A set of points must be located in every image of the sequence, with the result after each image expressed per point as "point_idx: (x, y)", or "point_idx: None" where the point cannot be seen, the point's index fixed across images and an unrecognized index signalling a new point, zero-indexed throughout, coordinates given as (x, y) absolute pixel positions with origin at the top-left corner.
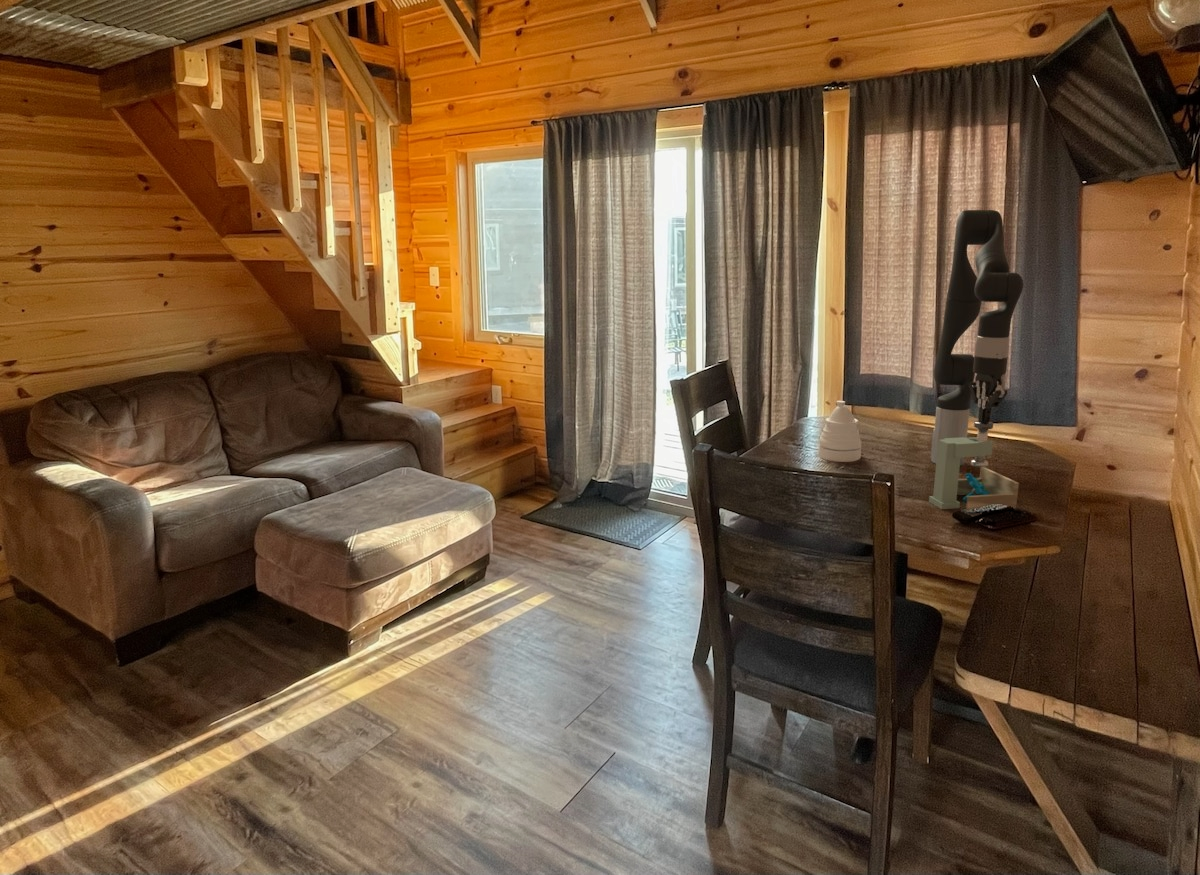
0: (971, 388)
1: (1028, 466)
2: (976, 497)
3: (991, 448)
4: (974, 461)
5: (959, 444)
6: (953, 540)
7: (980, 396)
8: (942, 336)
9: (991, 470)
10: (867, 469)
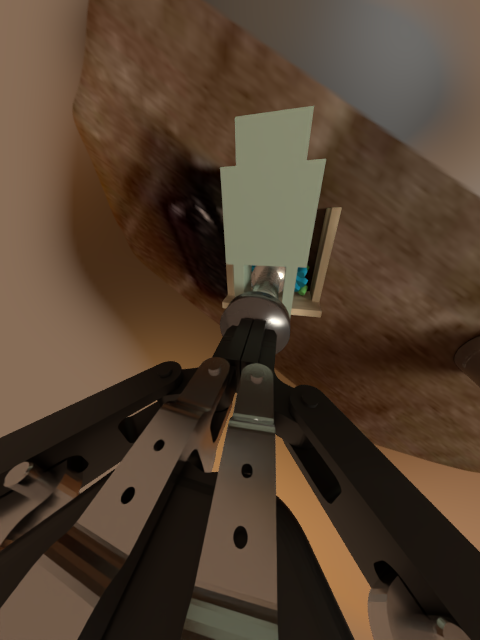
0: (472, 594)
1: (382, 414)
2: None
3: None
4: (270, 266)
5: (222, 182)
6: (110, 91)
7: (227, 436)
8: None
9: (296, 314)
10: None
